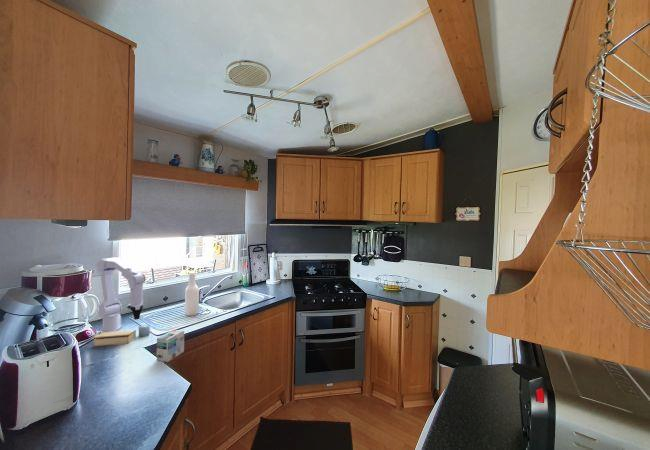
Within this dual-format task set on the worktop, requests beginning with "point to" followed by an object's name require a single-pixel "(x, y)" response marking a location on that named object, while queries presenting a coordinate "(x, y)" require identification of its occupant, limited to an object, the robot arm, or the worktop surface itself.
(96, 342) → the box
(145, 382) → the worktop surface
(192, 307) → the alcohol
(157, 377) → the worktop surface
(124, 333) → the lid
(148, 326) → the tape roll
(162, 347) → the light bulb box
